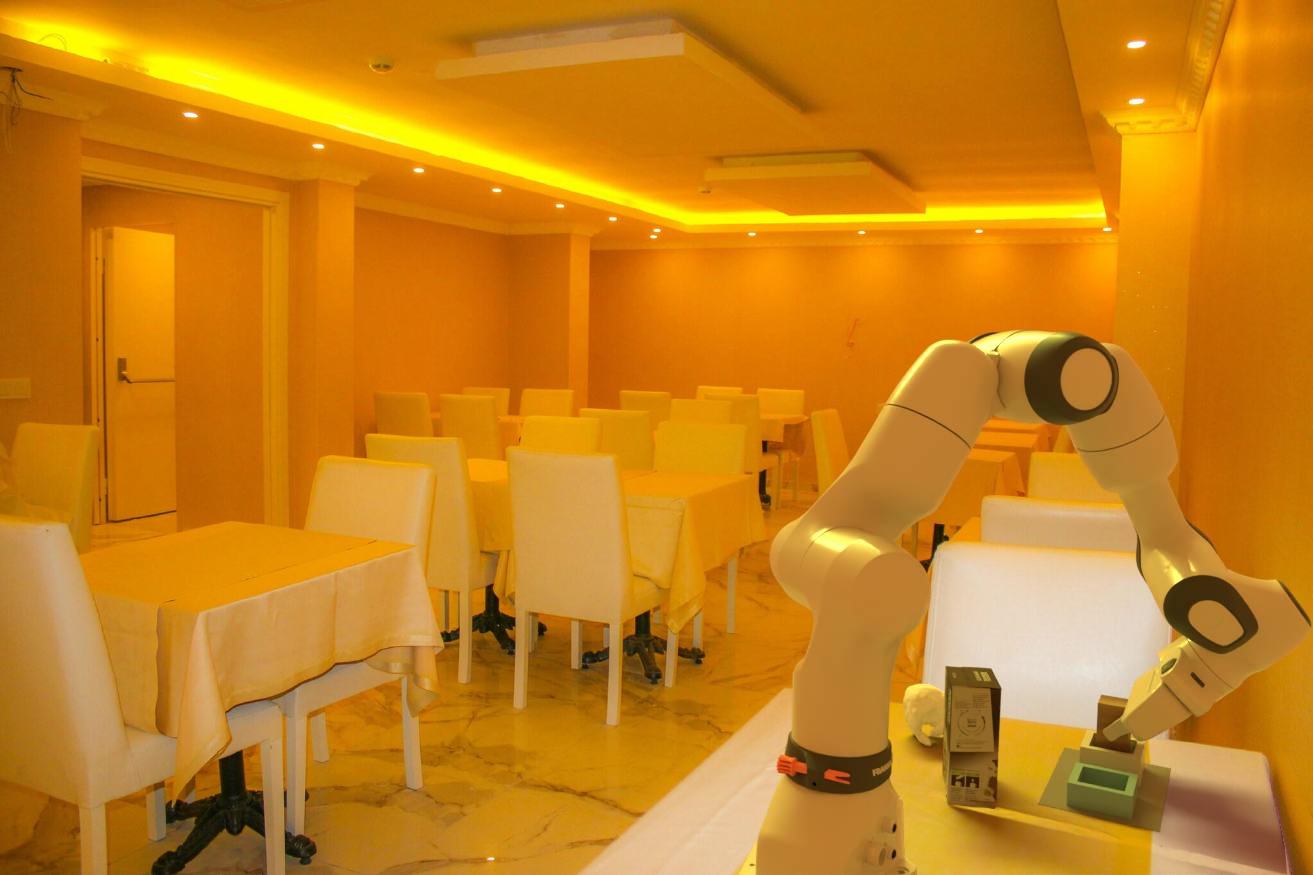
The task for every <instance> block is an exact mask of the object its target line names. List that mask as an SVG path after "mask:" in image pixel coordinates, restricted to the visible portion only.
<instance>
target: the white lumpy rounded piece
mask: <svg viewBox="0 0 1313 875" xmlns="http://www.w3.org/2000/svg"><path fill="white" fill-rule="evenodd" d="M944 694H945V691H944V690H943V691H942V690H941V689H939V688H938V687H936V686H934V685H933V684H932V685H931V684H928V683H927V684H926V683H917V684H914V685H910V686H907V688H906V690H905V691H904V697H903V699H902V704H903V710H904V719H905V723H906V727H907V728H908V729H909V730H910V733H912V735H914V736H915V737H916V739H917V740H918V742H920V743H921V744H922V745H924V746H926V747H931V746H932V741H931V739H930V737H929V736H928V735H927V734H926V733H925V732H923V730H922V728H923V726H926V725H929V726H930V727H933V729H931V730H930V731H929V734H930V736H931V737H932V738H938V737H940V736H943V730H944Z"/></svg>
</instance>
